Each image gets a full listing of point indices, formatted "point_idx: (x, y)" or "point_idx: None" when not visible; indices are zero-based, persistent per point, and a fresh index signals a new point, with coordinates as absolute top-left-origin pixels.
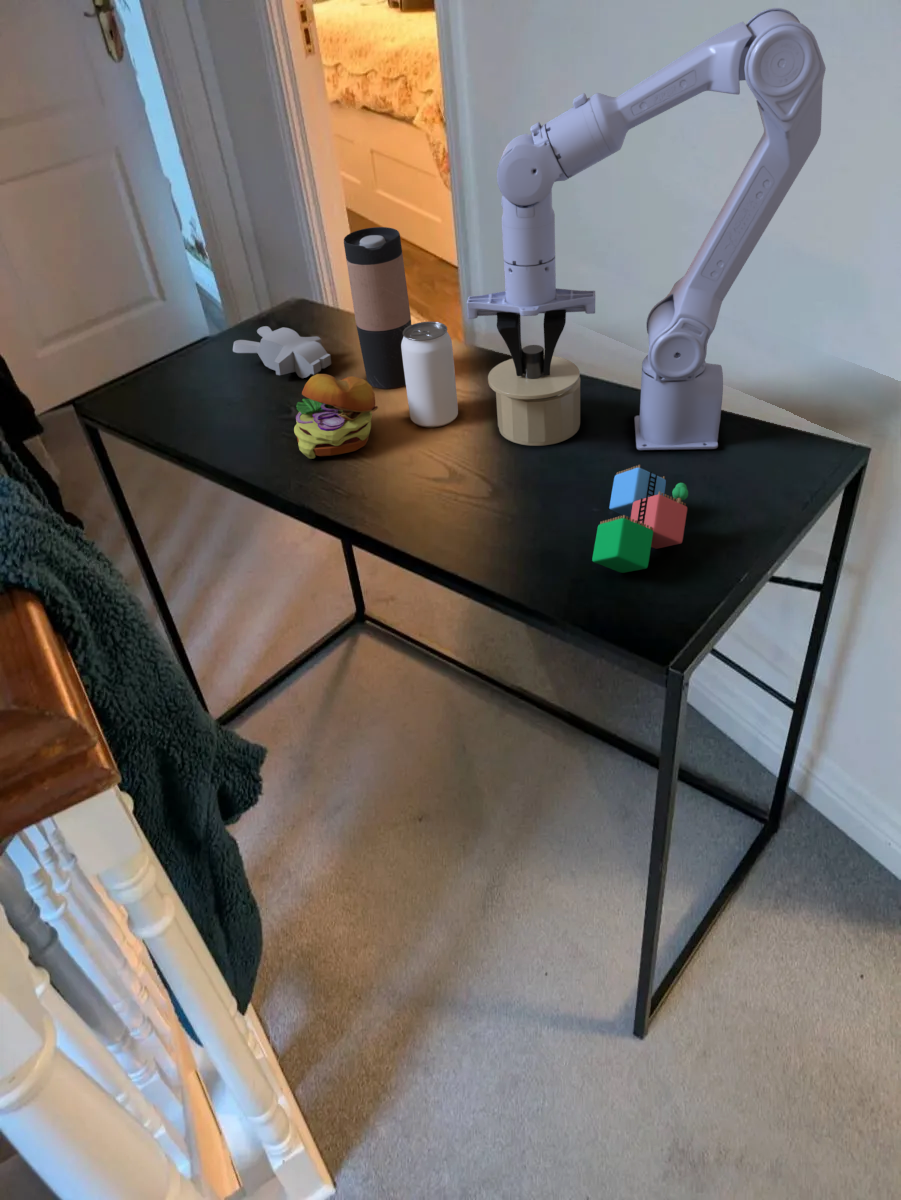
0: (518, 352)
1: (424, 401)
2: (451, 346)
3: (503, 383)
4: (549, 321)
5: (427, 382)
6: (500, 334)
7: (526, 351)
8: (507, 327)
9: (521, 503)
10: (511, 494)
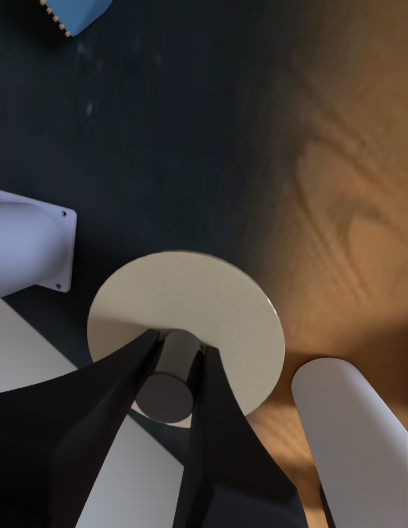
0: (209, 386)
1: (370, 392)
2: (345, 509)
3: (254, 333)
4: (20, 463)
5: (385, 424)
6: (283, 472)
7: (183, 393)
8: (260, 502)
9: (262, 106)
10: (271, 138)
